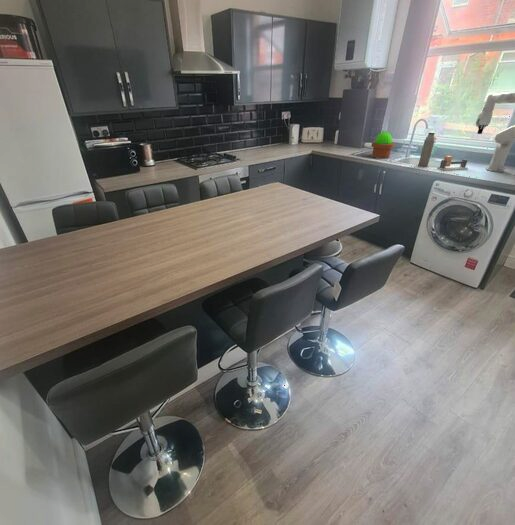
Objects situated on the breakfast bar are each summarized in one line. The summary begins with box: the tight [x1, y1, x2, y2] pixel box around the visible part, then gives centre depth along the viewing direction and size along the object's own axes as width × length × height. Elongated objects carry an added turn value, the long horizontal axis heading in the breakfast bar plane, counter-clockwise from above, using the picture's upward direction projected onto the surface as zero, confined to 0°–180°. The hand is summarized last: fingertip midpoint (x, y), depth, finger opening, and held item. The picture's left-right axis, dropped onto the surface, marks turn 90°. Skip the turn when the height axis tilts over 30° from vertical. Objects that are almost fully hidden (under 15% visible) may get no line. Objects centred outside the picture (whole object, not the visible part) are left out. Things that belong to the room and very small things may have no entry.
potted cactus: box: [370, 130, 395, 159], centre depth 303 cm, size 22×22×25 cm
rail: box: [436, 158, 468, 171], centre depth 256 cm, size 10×22×7 cm, turn 98°
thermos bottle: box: [418, 132, 436, 167], centre depth 263 cm, size 8×8×28 cm
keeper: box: [443, 155, 453, 167], centre depth 254 cm, size 5×4×8 cm
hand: (479, 133), depth 254 cm, fingers closed
